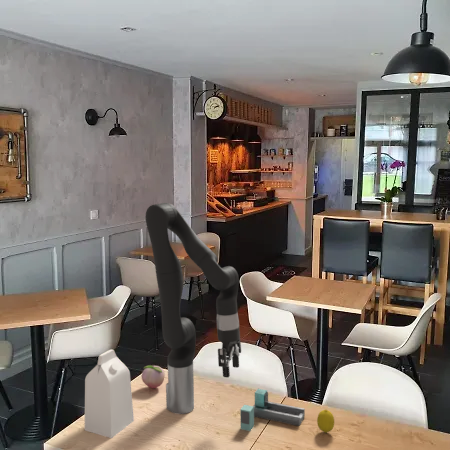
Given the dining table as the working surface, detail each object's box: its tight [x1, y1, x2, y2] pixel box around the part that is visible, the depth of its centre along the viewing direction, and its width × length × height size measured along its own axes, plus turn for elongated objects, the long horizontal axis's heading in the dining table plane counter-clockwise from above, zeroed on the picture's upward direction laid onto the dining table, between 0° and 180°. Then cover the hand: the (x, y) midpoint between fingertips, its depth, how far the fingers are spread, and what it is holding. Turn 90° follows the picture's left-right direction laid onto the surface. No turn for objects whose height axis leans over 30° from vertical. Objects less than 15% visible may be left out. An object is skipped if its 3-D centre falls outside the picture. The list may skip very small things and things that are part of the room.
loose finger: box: [239, 404, 255, 432], centre depth 164 cm, size 4×4×7 cm
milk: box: [84, 349, 135, 439], centre depth 165 cm, size 12×12×26 cm
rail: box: [253, 388, 306, 427], centre depth 171 cm, size 18×7×8 cm, turn 66°
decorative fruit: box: [141, 365, 166, 389], centre depth 193 cm, size 9×8×10 cm
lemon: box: [316, 409, 335, 434], centre depth 160 cm, size 6×6×8 cm
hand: (231, 371), depth 166 cm, fingers open, 8 cm apart
